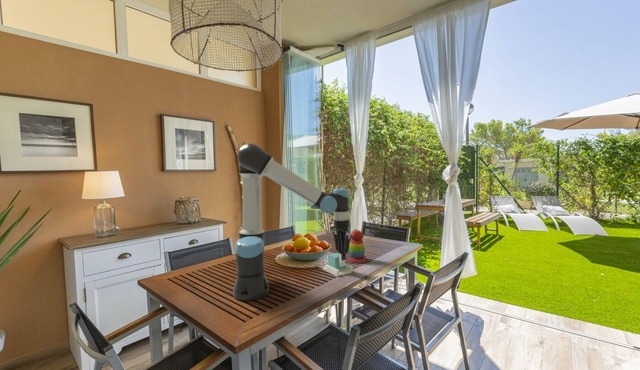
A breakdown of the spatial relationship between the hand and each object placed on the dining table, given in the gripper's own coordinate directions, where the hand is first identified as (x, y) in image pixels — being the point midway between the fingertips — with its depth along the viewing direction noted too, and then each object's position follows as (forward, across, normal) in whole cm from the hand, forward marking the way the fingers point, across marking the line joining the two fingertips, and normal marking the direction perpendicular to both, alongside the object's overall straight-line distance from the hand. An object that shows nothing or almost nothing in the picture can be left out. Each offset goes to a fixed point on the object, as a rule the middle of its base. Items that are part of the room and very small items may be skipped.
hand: (342, 265), depth 144 cm
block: (+4, +5, 0) cm, 6 cm away
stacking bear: (+4, +11, -19) cm, 22 cm away
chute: (+4, +8, 0) cm, 9 cm away
